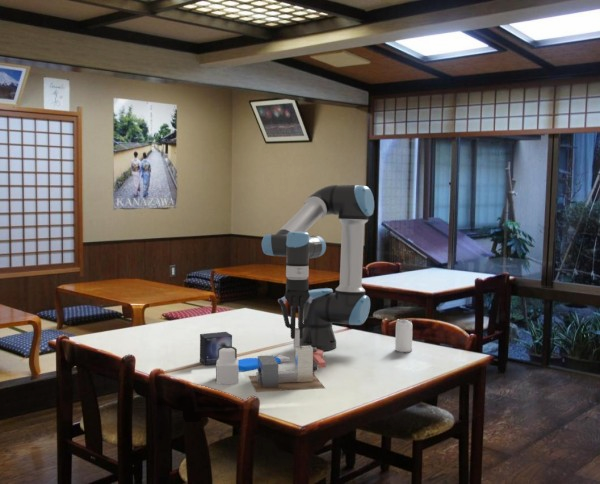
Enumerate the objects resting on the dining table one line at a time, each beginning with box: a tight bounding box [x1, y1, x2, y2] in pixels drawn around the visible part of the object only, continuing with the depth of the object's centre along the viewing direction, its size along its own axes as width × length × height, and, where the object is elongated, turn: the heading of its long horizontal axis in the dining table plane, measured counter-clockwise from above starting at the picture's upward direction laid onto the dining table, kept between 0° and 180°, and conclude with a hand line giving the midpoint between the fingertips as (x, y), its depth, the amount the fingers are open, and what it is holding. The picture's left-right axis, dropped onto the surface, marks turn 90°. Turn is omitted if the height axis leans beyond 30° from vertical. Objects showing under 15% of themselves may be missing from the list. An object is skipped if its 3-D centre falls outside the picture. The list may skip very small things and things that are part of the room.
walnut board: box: [248, 372, 326, 393], centre depth 223 cm, size 18×22×1 cm
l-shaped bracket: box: [255, 346, 314, 384], centre depth 223 cm, size 4×18×11 cm, turn 102°
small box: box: [199, 331, 233, 366], centre depth 250 cm, size 11×6×10 cm, turn 117°
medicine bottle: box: [215, 346, 239, 385], centre depth 224 cm, size 7×7×12 cm
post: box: [313, 360, 318, 372], centre depth 238 cm, size 3×3×5 cm
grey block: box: [257, 355, 279, 388], centre depth 222 cm, size 11×5×8 cm, turn 12°
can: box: [394, 318, 413, 353], centre depth 270 cm, size 6×6×12 cm
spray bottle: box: [237, 354, 291, 372], centre depth 247 cm, size 3×11×24 cm
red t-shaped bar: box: [312, 347, 327, 368], centre depth 233 cm, size 18×7×3 cm, turn 12°
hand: (296, 348), depth 230 cm, fingers closed
